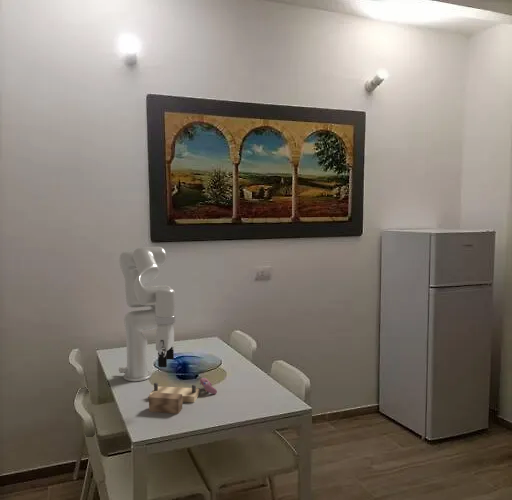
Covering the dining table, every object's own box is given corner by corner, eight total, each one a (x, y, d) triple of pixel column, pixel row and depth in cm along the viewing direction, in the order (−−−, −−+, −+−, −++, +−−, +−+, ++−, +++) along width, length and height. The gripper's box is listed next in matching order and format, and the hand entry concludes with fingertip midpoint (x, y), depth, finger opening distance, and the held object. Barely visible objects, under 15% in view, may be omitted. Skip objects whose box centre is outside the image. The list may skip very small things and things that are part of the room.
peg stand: (149, 400, 199) (149, 387, 198) (156, 391, 208) (156, 379, 207) (194, 402, 197) (194, 389, 196) (199, 393, 206) (199, 381, 205)
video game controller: (203, 390, 214) (196, 377, 212) (212, 385, 215) (205, 372, 213) (209, 399, 205) (201, 385, 203) (218, 393, 206) (211, 379, 204)
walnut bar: (149, 411, 188) (148, 397, 187) (153, 406, 193) (153, 392, 192) (178, 414, 186) (178, 399, 186) (182, 408, 191) (182, 394, 191)
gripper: (162, 315, 196) (163, 356, 197) (149, 325, 179) (149, 369, 180) (180, 315, 195) (181, 356, 196) (168, 325, 178) (169, 370, 179)
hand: (166, 362), depth 188 cm, fingers open, 9 cm apart
